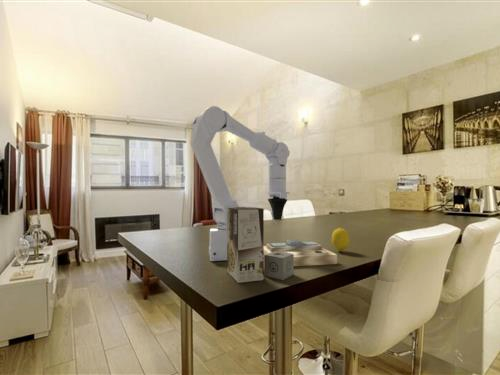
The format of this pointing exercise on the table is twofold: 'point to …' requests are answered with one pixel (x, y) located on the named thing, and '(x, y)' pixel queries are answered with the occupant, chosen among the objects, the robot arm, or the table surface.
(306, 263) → the button board
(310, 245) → the button right
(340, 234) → the lemon
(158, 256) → the table surface
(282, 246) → the button left
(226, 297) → the table surface
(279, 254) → the dice cube
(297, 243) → the button middle
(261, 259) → the coffee box
